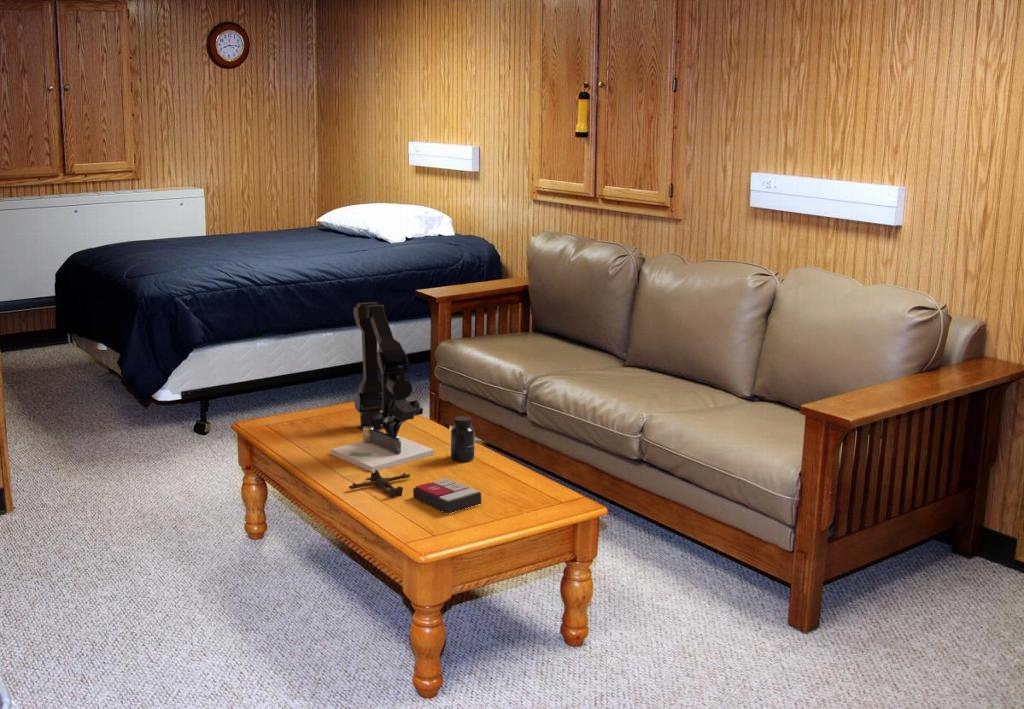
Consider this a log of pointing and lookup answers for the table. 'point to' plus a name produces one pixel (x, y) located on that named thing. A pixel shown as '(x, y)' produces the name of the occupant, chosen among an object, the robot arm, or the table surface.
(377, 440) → the pointer
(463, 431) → the supplement bottle
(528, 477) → the table surface
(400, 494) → the black cross stand base
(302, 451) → the table surface
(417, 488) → the red grey black box
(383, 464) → the dial board
